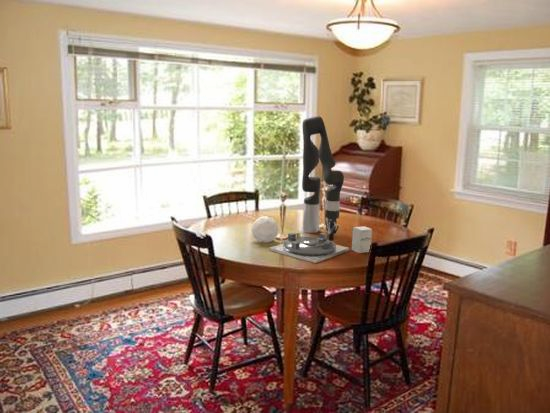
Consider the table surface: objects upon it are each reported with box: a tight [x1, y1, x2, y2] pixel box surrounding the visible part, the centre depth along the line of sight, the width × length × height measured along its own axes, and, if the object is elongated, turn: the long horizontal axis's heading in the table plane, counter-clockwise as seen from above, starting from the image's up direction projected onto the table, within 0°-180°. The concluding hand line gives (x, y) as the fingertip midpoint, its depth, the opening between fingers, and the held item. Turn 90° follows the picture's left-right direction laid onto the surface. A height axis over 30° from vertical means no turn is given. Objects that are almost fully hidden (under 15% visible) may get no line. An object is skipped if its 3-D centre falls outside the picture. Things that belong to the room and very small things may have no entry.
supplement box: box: [351, 225, 373, 254], centre depth 266 cm, size 7×7×13 cm
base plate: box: [268, 232, 350, 264], centre depth 265 cm, size 30×30×6 cm
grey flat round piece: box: [282, 232, 337, 255], centre depth 265 cm, size 28×28×5 cm
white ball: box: [251, 215, 279, 244], centre depth 279 cm, size 14×15×15 cm
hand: (330, 240), depth 268 cm, fingers closed
